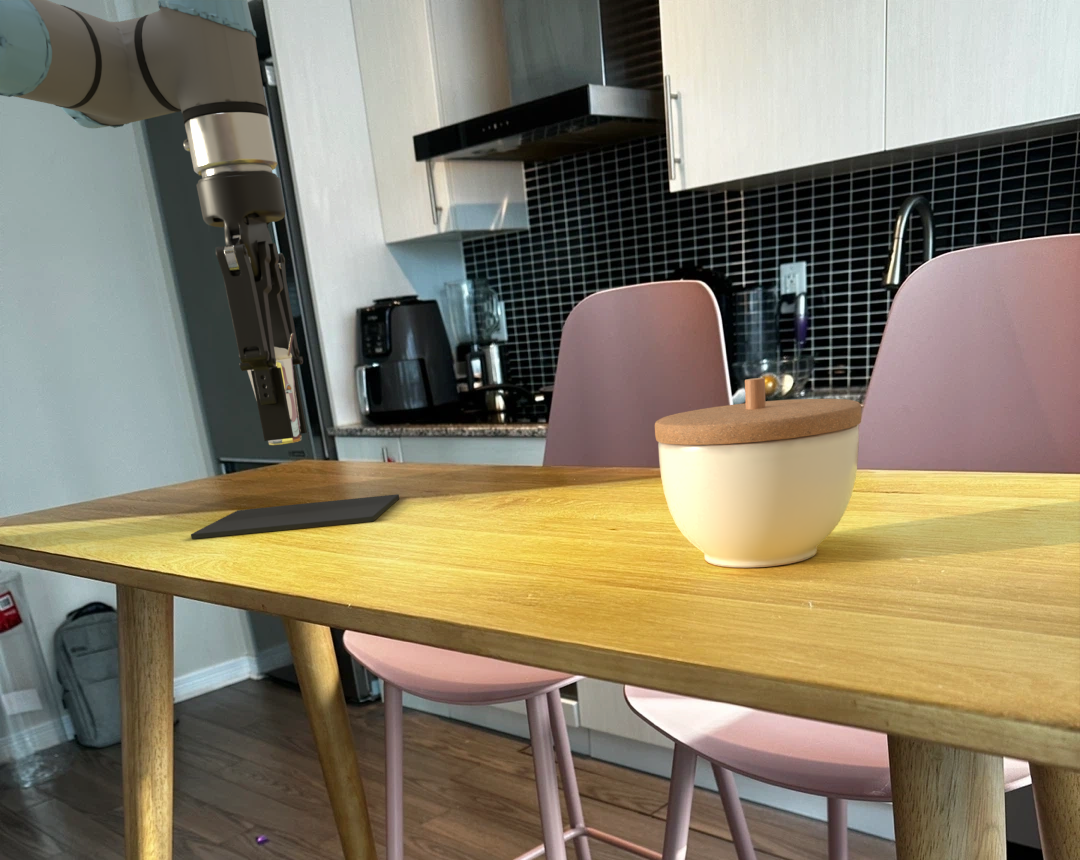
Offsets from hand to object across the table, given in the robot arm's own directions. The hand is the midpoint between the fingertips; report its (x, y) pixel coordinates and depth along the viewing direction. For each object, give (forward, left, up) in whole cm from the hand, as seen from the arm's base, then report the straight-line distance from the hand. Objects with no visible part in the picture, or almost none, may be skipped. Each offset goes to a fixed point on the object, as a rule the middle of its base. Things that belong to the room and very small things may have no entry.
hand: (286, 436), depth 102 cm
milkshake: (0, 0, -1) cm, 1 cm away
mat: (0, 0, -8) cm, 8 cm away
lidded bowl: (+41, -37, -8) cm, 56 cm away
